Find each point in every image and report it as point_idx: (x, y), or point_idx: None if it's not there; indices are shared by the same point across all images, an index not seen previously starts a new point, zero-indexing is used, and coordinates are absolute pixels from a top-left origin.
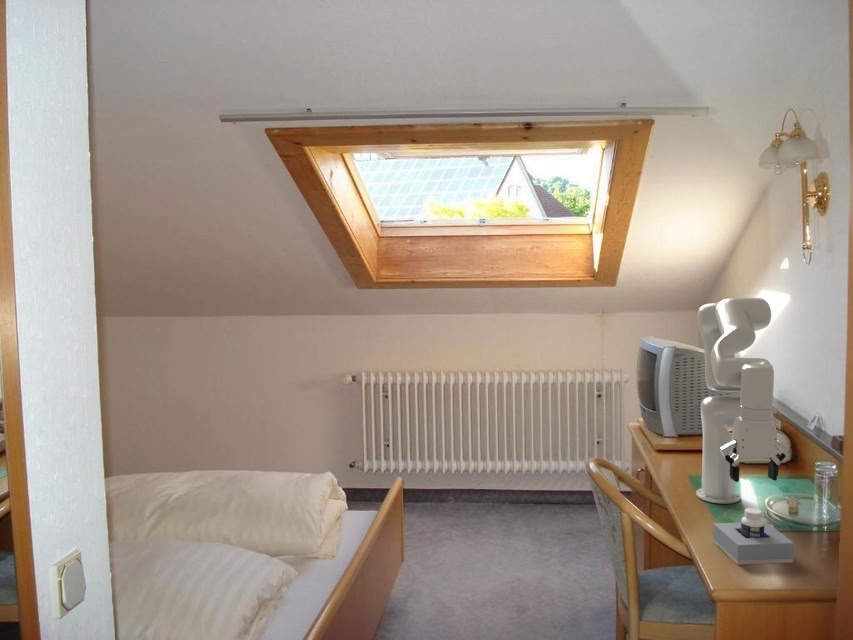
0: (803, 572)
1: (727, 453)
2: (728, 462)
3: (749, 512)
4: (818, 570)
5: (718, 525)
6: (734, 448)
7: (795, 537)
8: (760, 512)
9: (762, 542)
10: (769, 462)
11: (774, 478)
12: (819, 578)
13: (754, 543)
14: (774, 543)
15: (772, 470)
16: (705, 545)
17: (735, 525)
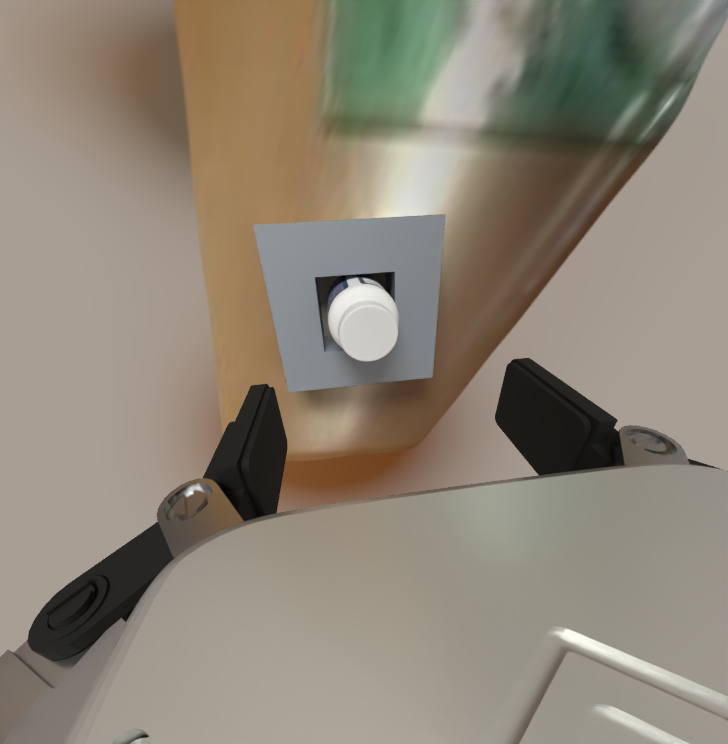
0: (412, 395)
1: (61, 725)
2: (175, 498)
3: (347, 352)
4: (445, 386)
5: (268, 246)
6: (194, 622)
7: (519, 197)
8: (387, 352)
9: (357, 375)
10: (593, 424)
11: (504, 426)
12: (426, 415)
13: (334, 383)
14: (384, 380)
15: (532, 445)
16: (239, 252)
17: (328, 248)
